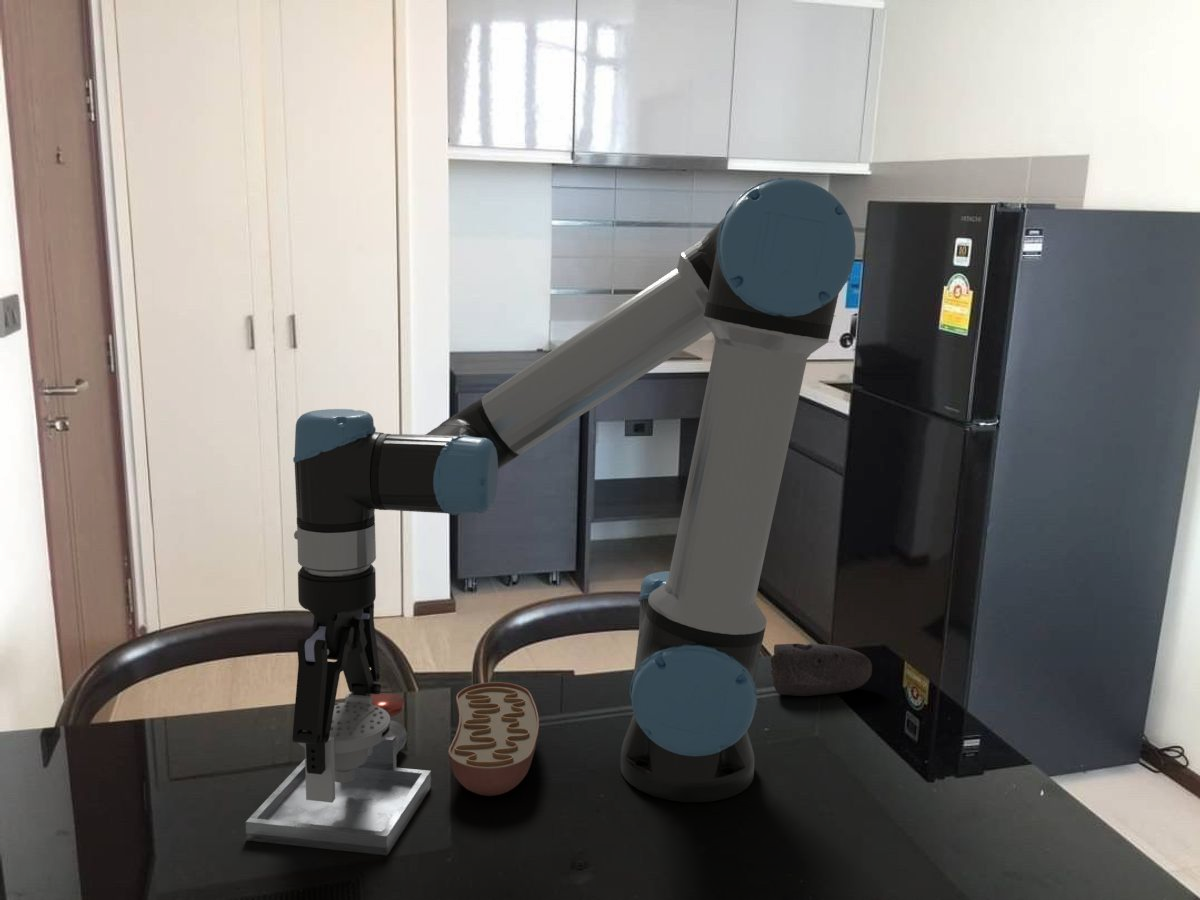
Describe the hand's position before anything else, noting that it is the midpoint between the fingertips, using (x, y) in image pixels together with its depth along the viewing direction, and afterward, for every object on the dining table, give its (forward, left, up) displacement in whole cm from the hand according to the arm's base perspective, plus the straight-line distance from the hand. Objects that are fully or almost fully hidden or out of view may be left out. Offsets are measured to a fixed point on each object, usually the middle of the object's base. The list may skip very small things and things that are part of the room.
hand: (341, 775), depth 107 cm
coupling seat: (0, -4, -4) cm, 6 cm away
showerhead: (0, 0, 0) cm, 0 cm away
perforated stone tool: (-51, -42, -5) cm, 66 cm away
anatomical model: (-13, -15, -5) cm, 20 cm away
